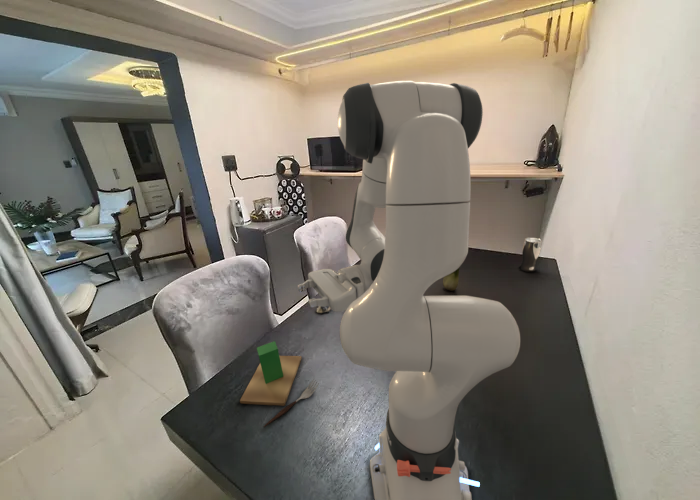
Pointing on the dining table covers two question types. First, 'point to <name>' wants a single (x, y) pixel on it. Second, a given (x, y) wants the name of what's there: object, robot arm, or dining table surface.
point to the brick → (270, 362)
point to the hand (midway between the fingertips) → (303, 295)
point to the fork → (305, 394)
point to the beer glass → (530, 253)
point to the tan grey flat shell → (323, 309)
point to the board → (272, 384)
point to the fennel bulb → (451, 280)
